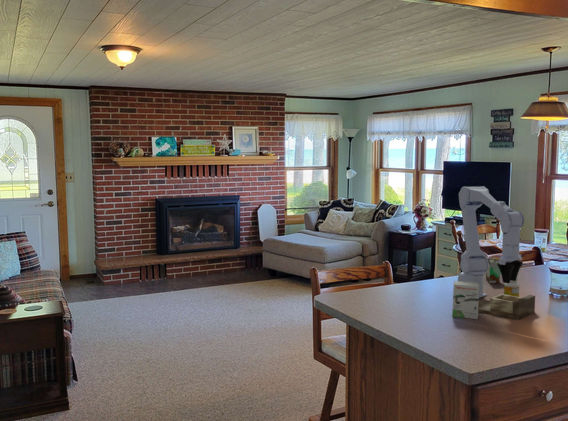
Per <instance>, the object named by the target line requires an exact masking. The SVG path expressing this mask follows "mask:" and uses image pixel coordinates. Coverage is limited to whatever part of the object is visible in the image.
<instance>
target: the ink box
mask: <svg viewBox="0 0 568 421" xmlns="http://www.w3.org/2000/svg"><path fill="white" fill-rule="evenodd" d="M452 293H453V294H452V309H451V310H452V311H451V312H452V317H453V318H462V319H463V318H464V319H474V320H479V319H478V318H479V312H478V304H479V301H480V300H479V299H480V298H479V284H478V283H472V282H460V281H458V280H456V281H453V292H452Z"/></svg>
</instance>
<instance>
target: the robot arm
mask: <svg viewBox="0 0 568 421" xmlns="http://www.w3.org/2000/svg"><path fill="white" fill-rule="evenodd" d="M458 202H459V207H460V209H461V215H462V223H463V224H462V225H463V232H464V242H465V249H466V250H465V251H464V252H463V253H462V254H461V255H460V263H459V264H460V265H459V266H460V270H461V271H462V272H460V273H459V275H458V277H457V281H460V282H472V283H478V284H479V299H480V298H482V297H486V296H488V294H487V293H485V292H484V281H485V280H484V278H485V277H484V276H485V275H486V271H487V270H488V268H489V262H488V260H487V258H488V256H487V253H486V252H485V251H483V250H482V249H481V246H480V238H479V231H478V222H477V215H476V214H477V213H476V211H477V209H478V208H481V206H482V205H483V204H484V205H485V206H486V207H488V208H489V209H490V213H491V214H492V215H493V216H494V217H495V218H496V219H497V220H499V225H500V226H501V232H502V246H501V247H502V248H501V257H500V258H499V259H498V260H499V263H497V265H498V267H499V269H500V272H501V273H500V276H501V280H502V283H503V284H505V283H510V280H511V281H516V279H517V278H518V275H519V271H520V270H521V267H522V266H523V264H524V262H523V261H522V260H523V257H522V254H520V240H521V239H520V237H521V227H523V226H524V223H525V216H524V215H523V213H522V211H518V210H517V211H515V210H513V208H511V207H510V206H508V205H507V204H506V202H505V201H501V200H498V201H497V200H496V199H495V198H494V197H493V196H492V194H490V190H489V189H488V188H487V187H485V185H484V186H462V187H461V188H460V191H459V192H458Z"/></svg>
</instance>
